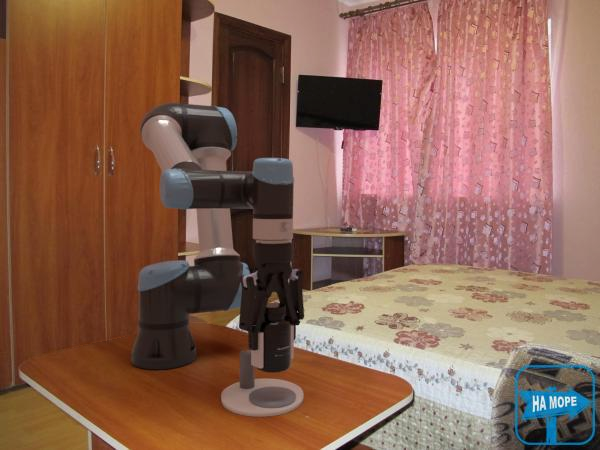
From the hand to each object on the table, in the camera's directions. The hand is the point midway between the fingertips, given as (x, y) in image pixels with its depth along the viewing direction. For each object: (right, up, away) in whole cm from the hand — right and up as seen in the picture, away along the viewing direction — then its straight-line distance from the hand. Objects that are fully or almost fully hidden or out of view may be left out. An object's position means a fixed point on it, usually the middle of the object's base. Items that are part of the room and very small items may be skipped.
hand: (272, 361), depth 94 cm
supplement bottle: (0, -1, 0) cm, 1 cm away
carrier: (-2, -8, +3) cm, 9 cm away
